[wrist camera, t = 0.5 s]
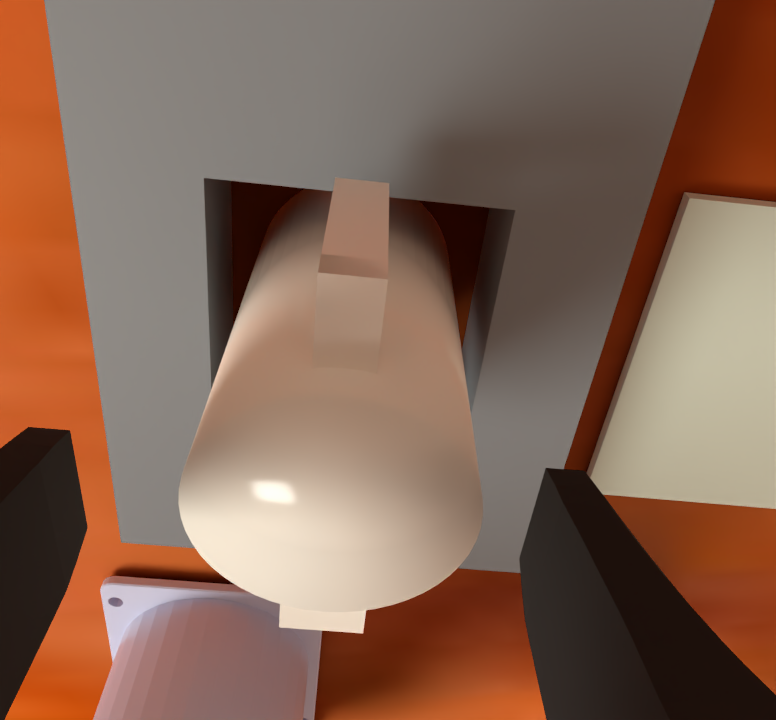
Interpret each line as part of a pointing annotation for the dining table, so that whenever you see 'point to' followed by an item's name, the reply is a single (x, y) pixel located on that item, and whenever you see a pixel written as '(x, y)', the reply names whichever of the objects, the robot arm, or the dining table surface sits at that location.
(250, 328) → the cream strapped capsule
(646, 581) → the robot arm
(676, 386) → the mat
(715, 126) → the dining table surface
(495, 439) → the holder
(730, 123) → the dining table surface
